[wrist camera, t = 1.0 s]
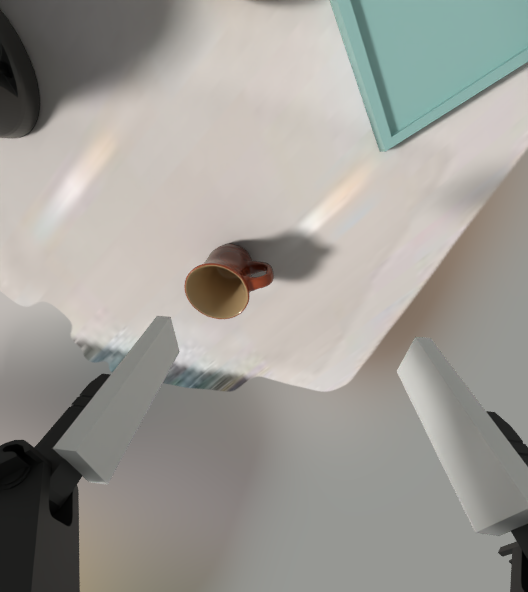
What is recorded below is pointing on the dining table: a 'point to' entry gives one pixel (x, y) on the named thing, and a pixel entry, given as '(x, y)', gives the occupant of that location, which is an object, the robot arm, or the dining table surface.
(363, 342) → the dining table surface
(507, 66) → the tray
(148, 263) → the dining table surface
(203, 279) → the mug
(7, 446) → the robot arm
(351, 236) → the dining table surface
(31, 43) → the dining table surface
